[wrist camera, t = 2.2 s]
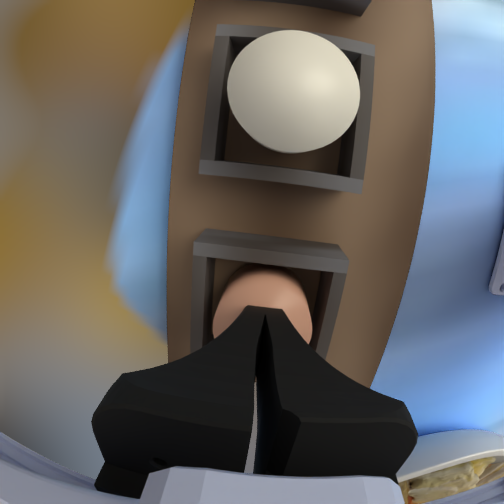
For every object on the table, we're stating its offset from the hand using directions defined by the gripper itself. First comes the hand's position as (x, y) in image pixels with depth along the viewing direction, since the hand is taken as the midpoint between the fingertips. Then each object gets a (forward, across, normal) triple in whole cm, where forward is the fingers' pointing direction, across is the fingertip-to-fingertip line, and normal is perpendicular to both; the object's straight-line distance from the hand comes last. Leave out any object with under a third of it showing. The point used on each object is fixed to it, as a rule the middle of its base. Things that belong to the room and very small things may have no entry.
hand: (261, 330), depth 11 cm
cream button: (+1, 0, -8) cm, 8 cm away
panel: (+4, -1, -8) cm, 9 cm away
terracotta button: (+2, 0, 0) cm, 2 cm away
